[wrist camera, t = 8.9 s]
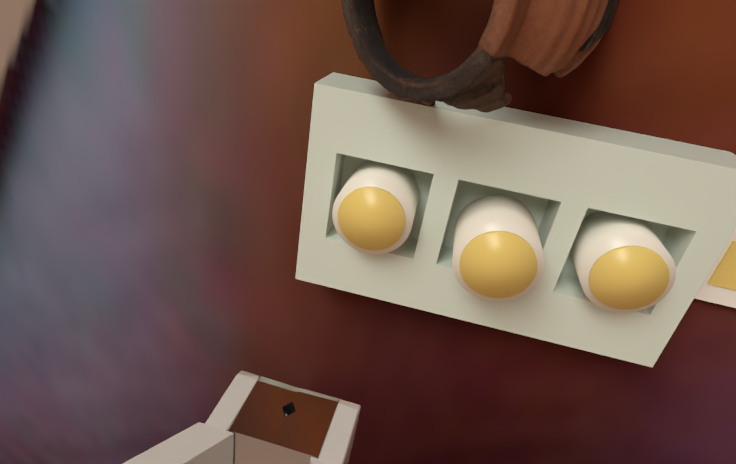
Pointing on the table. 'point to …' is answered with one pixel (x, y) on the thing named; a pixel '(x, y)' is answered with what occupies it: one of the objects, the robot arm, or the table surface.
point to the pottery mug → (489, 49)
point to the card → (721, 278)
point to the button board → (528, 185)
